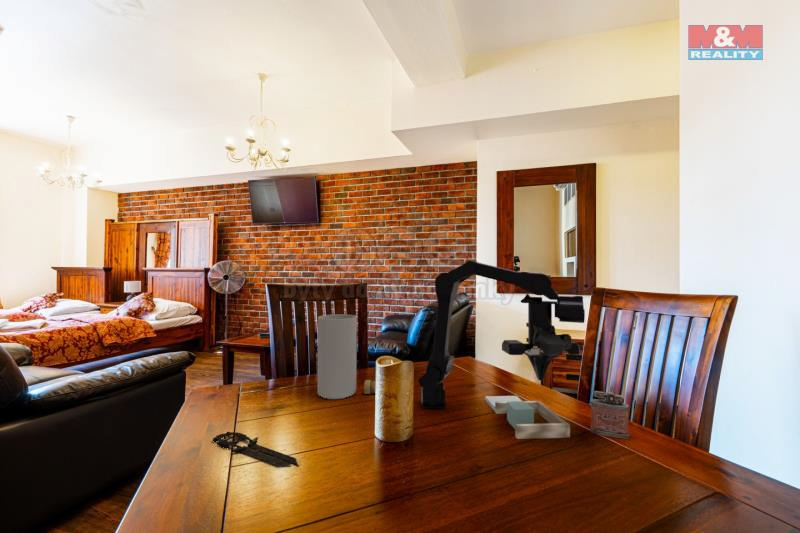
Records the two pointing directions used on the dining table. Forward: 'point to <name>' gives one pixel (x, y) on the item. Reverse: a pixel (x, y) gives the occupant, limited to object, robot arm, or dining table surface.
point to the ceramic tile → (500, 399)
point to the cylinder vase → (337, 356)
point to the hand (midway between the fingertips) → (540, 379)
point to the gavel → (369, 387)
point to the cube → (519, 413)
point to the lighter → (609, 415)
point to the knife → (253, 445)
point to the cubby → (547, 430)
